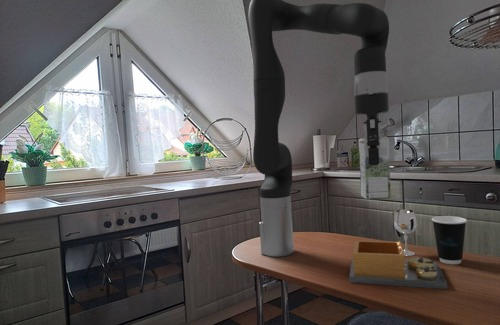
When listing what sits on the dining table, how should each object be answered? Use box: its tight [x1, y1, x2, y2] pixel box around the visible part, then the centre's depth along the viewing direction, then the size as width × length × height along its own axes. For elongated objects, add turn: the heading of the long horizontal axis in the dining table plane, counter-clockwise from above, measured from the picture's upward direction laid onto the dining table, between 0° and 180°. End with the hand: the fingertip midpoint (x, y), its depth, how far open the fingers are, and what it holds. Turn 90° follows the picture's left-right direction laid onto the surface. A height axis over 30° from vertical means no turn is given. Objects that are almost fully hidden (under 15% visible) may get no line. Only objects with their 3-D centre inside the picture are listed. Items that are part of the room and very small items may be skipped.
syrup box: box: [358, 136, 392, 200], centre depth 85 cm, size 6×6×14 cm
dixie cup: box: [431, 215, 468, 265], centre depth 91 cm, size 8×8×11 cm
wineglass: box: [393, 208, 417, 257], centre depth 99 cm, size 6×6×12 cm
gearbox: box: [348, 240, 448, 290], centre depth 85 cm, size 20×13×6 cm, turn 71°
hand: (373, 163), depth 85 cm, fingers closed on syrup box, 6 cm apart
